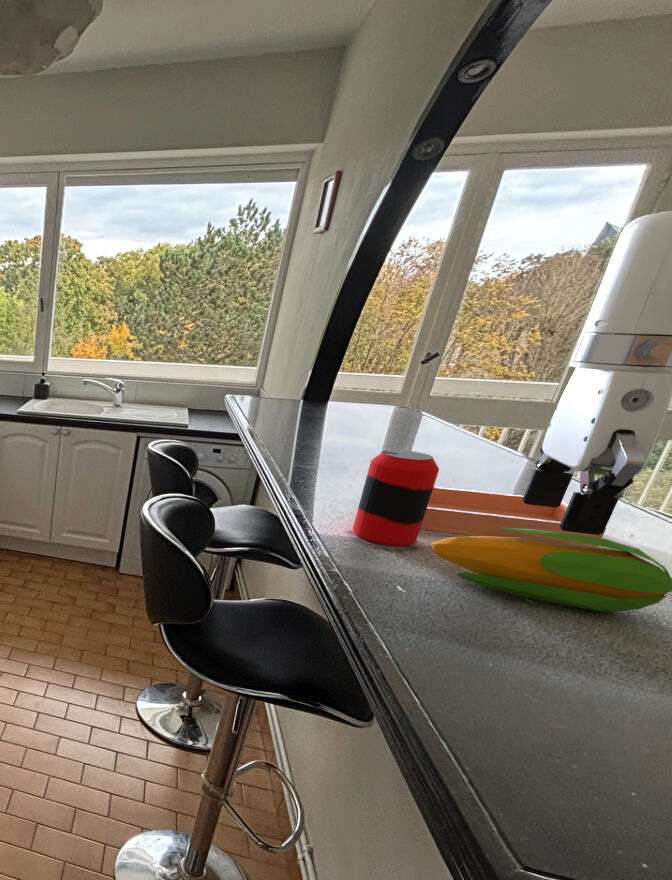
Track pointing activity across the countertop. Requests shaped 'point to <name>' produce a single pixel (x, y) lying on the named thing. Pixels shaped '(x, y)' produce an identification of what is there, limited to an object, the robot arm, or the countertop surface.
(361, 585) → the countertop surface
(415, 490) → the soda can
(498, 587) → the corn
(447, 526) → the pan
